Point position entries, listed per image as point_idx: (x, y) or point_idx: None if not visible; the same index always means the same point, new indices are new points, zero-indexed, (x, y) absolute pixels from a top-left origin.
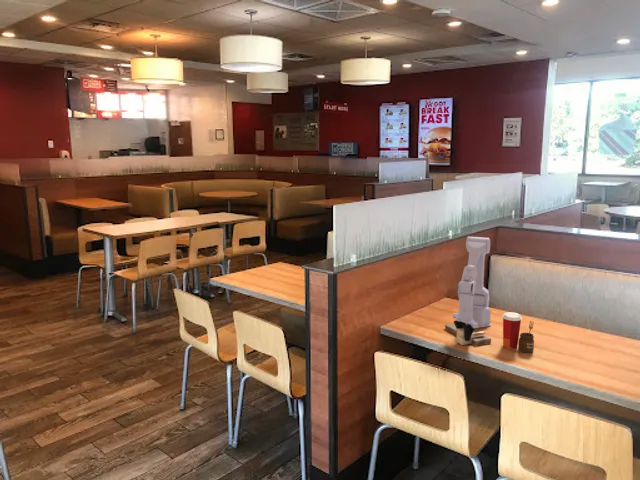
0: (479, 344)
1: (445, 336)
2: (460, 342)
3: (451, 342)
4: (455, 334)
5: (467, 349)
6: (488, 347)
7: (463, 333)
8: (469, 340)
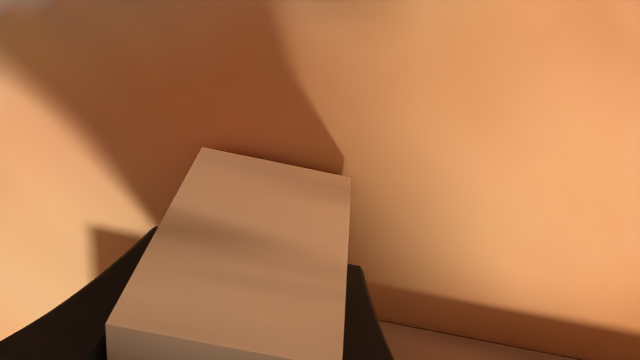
0: None
1: (634, 227)
2: (242, 171)
3: (405, 117)
4: (554, 357)
5: (53, 98)
6: None
7: (123, 301)
8: None
